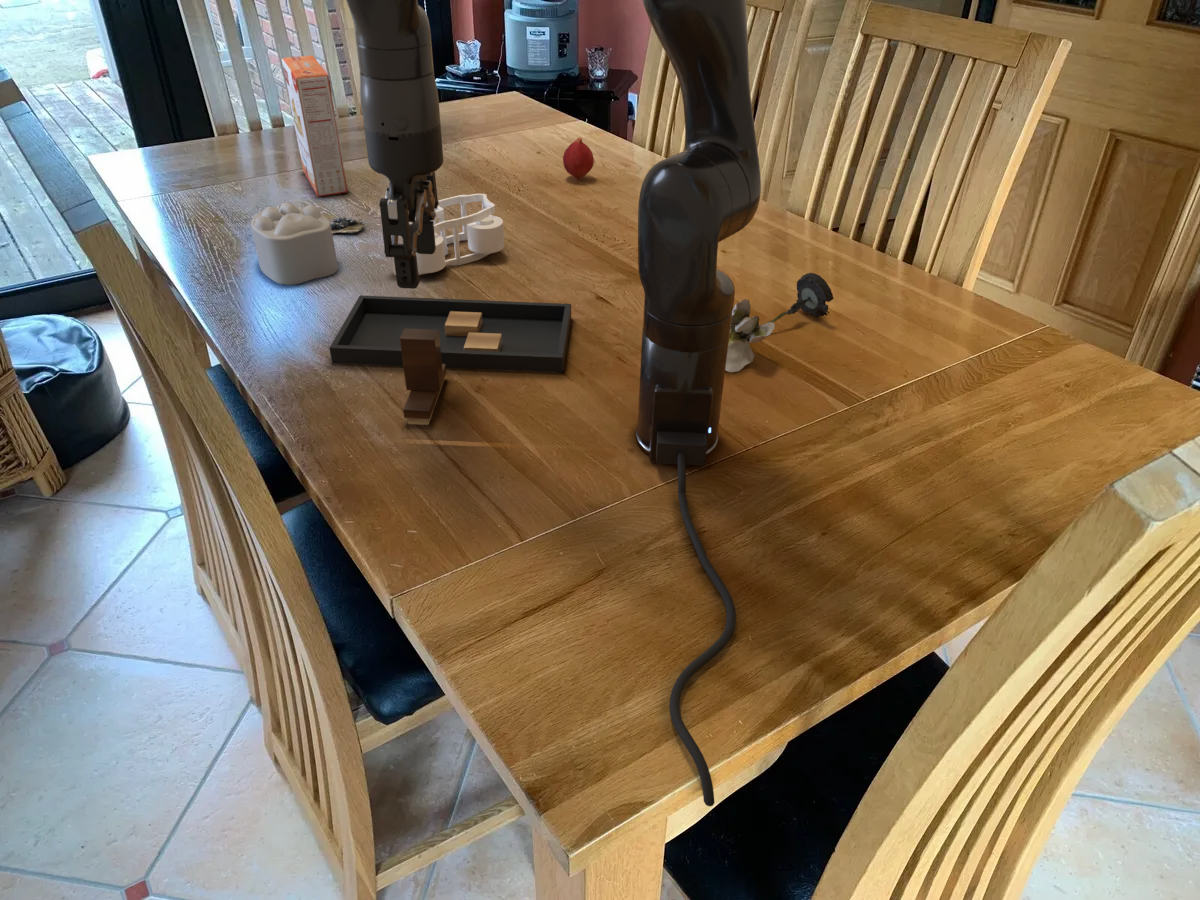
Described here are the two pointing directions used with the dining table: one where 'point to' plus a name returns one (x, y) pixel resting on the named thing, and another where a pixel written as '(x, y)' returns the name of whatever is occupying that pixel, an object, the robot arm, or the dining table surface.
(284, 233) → the lumpy-topped squat cylinder
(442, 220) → the wheeled car silhouette
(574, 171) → the onion
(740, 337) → the artificial flower
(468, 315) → the offcut
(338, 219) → the lumpy flat slab
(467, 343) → the offcut
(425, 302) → the tray
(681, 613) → the dining table surface
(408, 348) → the brush
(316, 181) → the cracker box
